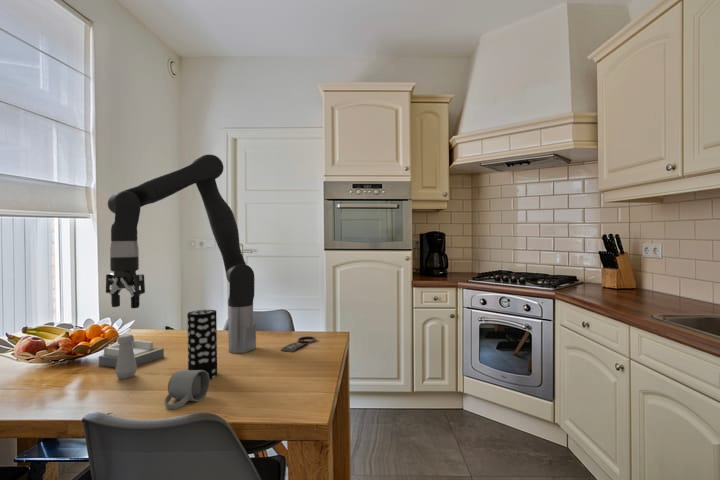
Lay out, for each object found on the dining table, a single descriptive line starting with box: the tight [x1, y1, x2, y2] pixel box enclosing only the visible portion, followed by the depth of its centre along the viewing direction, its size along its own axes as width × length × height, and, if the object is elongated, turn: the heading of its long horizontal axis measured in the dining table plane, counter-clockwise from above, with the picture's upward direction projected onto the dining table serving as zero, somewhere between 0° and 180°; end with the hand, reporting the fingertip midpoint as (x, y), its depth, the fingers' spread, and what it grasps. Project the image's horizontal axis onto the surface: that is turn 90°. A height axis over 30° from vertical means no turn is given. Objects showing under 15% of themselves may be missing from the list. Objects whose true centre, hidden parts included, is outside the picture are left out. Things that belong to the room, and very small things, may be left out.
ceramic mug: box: [164, 369, 211, 410], centre depth 98 cm, size 11×8×8 cm
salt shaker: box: [115, 333, 138, 380], centre depth 116 cm, size 6×6×13 cm
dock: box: [98, 339, 165, 368], centre depth 132 cm, size 14×14×6 cm
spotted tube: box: [186, 309, 218, 380], centre depth 115 cm, size 8×8×20 cm
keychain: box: [280, 335, 317, 353], centre depth 149 cm, size 8×19×2 cm, turn 158°
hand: (125, 307), depth 116 cm, fingers open, 8 cm apart
